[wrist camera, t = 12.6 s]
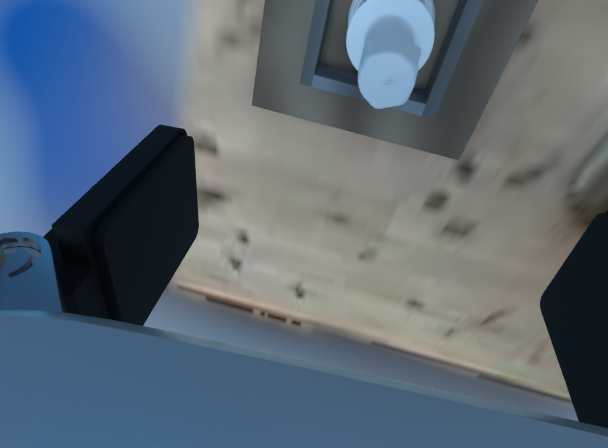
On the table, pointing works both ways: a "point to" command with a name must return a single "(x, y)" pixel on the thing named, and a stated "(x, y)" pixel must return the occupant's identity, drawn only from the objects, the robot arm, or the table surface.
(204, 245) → the table surface
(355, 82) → the keeper board
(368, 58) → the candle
